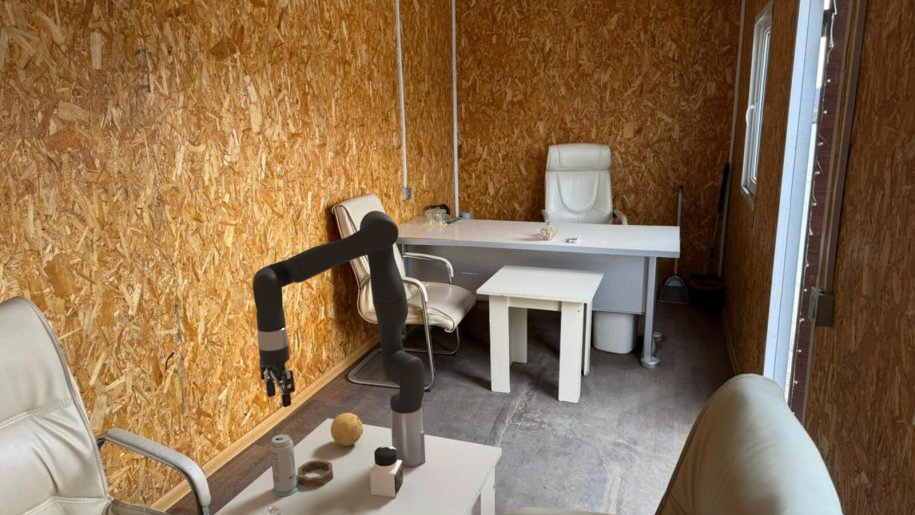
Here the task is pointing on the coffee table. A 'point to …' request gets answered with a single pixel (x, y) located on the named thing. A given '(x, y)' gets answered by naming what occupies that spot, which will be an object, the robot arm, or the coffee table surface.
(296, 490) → the coaster
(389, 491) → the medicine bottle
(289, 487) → the energy drink can
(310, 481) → the collar
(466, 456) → the coffee table surface
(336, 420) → the stress ball
